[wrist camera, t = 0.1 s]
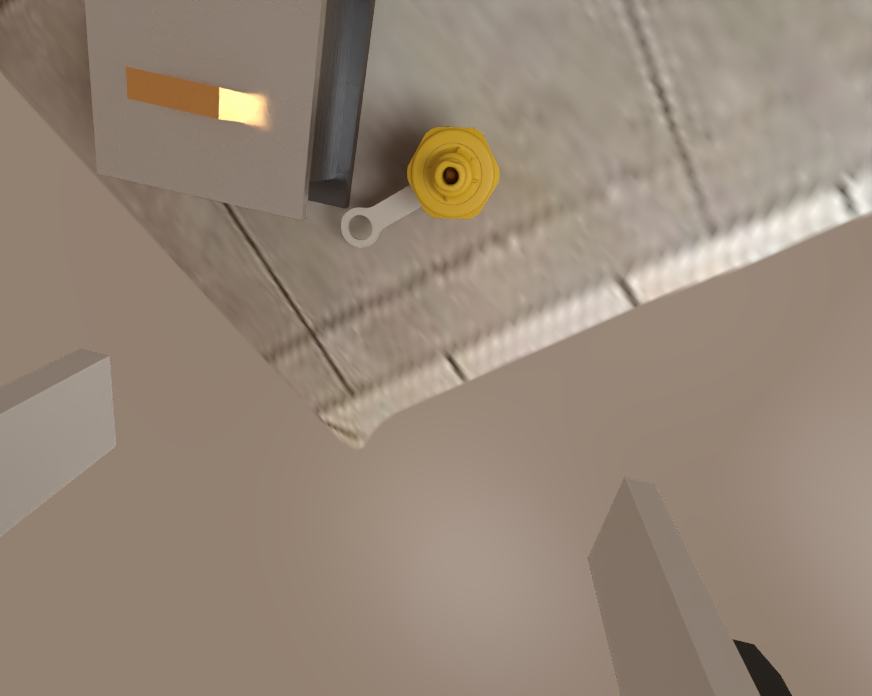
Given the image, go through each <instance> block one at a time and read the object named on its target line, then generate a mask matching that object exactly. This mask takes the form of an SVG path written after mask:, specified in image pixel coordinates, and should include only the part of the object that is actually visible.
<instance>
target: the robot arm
mask: <svg viewBox="0 0 872 696" xmlns="http://www.w3.org/2000/svg"><path fill="white" fill-rule="evenodd" d="M115 446H116V438H115V424H114V411H113V398H112V384H111V371H110V358H109V355H104V354H100V353H96V352H92V351H87V350H83V349H79V350H76V351H74V352H72V353H70V354H68V355H66V356H64V357H62V358H60V359H57V360H55V361H53V362H51V363H49V364H47V365H45V366H43V367H41V368H39V369H37V370H34V371H32V372H30V373H28V374H26V375H24V376H22V377H20V378H18V379H16V380H14V381H12V382H9V383H7V384H5V385H3V386H1V387H0V537H1V536H2V535H3V534H5V533H6V532H7V531H8V530H10V529H11V528H12V527H13V526H15V525H16V524H17V523H18V522H20V521H21V520H22V519H24V518H25V517H26V516H27V515H29V514H30V513H31V512H33V511H34V510H35V509H36V508H37V507H39V506H40V505H41V504H43V503H44V502H45V501H47V500H48V499H49V498H50V497H51V496H53V495H54V494H55V493H57V492H58V491H59V490H60V489H62V488H63V487H64V486H65V485H67V484H68V483H69V482H71V481H72V480H73V479H74V478H76V477H77V476H78V475H80V474H81V473H82V472H83V471H85V470H86V469H87V468H89V467H90V466H91V465H92V464H94V463H95V462H96V461H97V460H99V459H100V458H101V457H103V456H104V455H105V454H106V453H108V452H109V451H110V450H111V449H113V448H114V447H115ZM588 562H589V566H590V570H591V574H592V578H593V582H594V587H595V591H596V595H597V599H598V603H599V607H600V611H601V616H602V620H603V624H604V628H605V632H606V636H607V640H608V644H609V649H610V653H611V657H612V661H613V665H614V669H615V673H616V678H617V682H618V686H619V690H620V694H621V696H792V695H791V693H790V691H789V690H788V688H787V686H786V684H785V682H784V681H783V679H782V677H781V675H780V674H779V673H778V672H777V671H776V669H774V667H773V666H772V665H771V664H770V662H769V661H768V660H767V659H766V658H765V657H764V656H763V655H762V653H761V652H760V651H759V650H758V649H757V647H756V646H755V645H754V644H750V643H745V642H741V641H737V640H733V639H732V638H731V636H730V634H729V632H728V630H727V628H726V626H725V624H724V622H723V620H722V618H721V616H720V614H719V612H718V610H717V608H716V606H715V604H714V602H713V599H712V597H711V595H710V594H709V592H708V589H707V587H706V585H705V584H704V582H703V580H702V577H701V575H700V574H699V571H698V569H697V567H696V565H695V563H694V561H693V559H692V557H691V555H690V553H689V551H688V549H687V547H686V545H685V543H684V541H683V540H682V537H681V535H680V533H679V531H678V529H677V527H676V525H675V523H674V521H673V519H672V517H671V515H670V513H669V511H668V509H667V507H666V505H665V503H664V501H663V499H662V497H661V495H660V493H659V491H658V489H657V487H656V485H655V484H652V483H647V482H644V481H639V480H635V479H631V478H626V477H624V479H623V481H622V484H621V486H620V488H619V490H618V493H617V495H616V497H615V499H614V501H613V504H612V506H611V508H610V510H609V512H608V515H607V517H606V519H605V521H604V524H603V526H602V528H601V531H600V532H599V535H598V537H597V539H596V541H595V543H594V546H593V548H592V550H591V553H590V555H589V557H588Z"/></svg>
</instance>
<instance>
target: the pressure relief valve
mask: <svg viewBox="0 0 872 696" xmlns="http://www.w3.org/2000/svg"><path fill="white" fill-rule="evenodd" d="M499 174H500V169H499V167H498V165H497V163H496V161H495V159H494V157H493V154H492V152H491V150H490V148H489V146H488V144H487V142H486V140H485V137H484V135H483V134H482V133H480V132H479V131H478V130H476V129H475V128H460V127H449V126H447V127H435V128H433V129H431V130H430V131H428V132H427V133H426V134H425V136H424V137H423V139H422V141H421V143H420V144H419V146H418V148H417V150H416V152H415V154H414V156H413V157H412V159H411V161H410V163H409V165H408V167H407V179H408V181H409V183H410V185H409V186H407V187H405V188H404V189H402V190H400V191H399V192H397V193H395V194H393V195H392V196H390V197H388V198H387V199H385V200H383V201H381V202H380V203H378V204H376V205H375V206H373V207H370V208H364V207H356V208H352V209H351V210H349V211H347V213H346V214H345V215H344V217H343V219H342V222H341V230H342V233H343V236H344V238H345V239H346V240H347V241H348V242H349V243H350V244H352V245H353V246H356V247H362V248H363V247H368V246H370V245H372V244H373V243H374V242H375V241H376V240H377V238H378V236H379V234H380V232H381V231H382V229H383V228H385V227H386V226H388V225H390V224H392V223H393V222H395V221H397V220H399V219H400V218H402V217H404V216H406V215H408V214H409V213H411V212H413V211H415V210H416V209H418V208H420V207H422V208H423V209H424V211H425V212H426V213H427V214H429V215H430V216H432V217H434V218H451V219H470V218H472V217H474V216H475V215H477V214H479V213H480V211H481V209H482V208H483V206H484V205H485V203H486V202H487V200H488V198H489V197H490V195H491V194H492V192H493V190H494V189H495V187H496V185H497V184H498V182H499ZM356 215H363V216H365V217H367V218H368V219H369V220H370V222H371V224H372V228H373V229H372V234H371V235H370V237H369V238H367V239H364V240H360V239H357V238H355V237H354V236H353V235H352V234H351V233H350V230H349V223H350V220H351V219H352V218H353V217H354V216H356Z"/></svg>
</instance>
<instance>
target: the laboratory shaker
mask: <svg viewBox="0 0 872 696" xmlns="http://www.w3.org/2000/svg"><path fill="white" fill-rule="evenodd" d="M374 6H375V0H85V14H86V28H87V41H88V55H89V69H90V83H91V97H92V110H93V124H94V138H95V152H96V165H97V174H102V175H106V176H110V177H115V178H119V179H123V180H128V181H132V182H136V183H141V184H145V185H150V186H154V187H158V188H163V189H167V190H171V191H176V192H180V193H184V194H189V195H193V196H197V197H202V198H206V199H210V200H215V201H219V202H223V203H228V204H232V205H236V206H241V207H245V208H250V209H254V210H258V211H263V212H267V213H271V214H276V215H280V216H284V217H289V218H293V219H297V220H304V219H306V214H307V203H308V200H310V201H315V202H319V203H323V204H328V205H332V206H337V207H341V208H347V207H349V199H350V192H351V184H352V176H353V168H354V161H355V153H356V145H357V137H358V130H359V122H360V114H361V107H362V99H363V91H364V83H365V76H366V68H367V60H368V52H369V45H370V37H371V29H372V21H373V14H374Z"/></svg>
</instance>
